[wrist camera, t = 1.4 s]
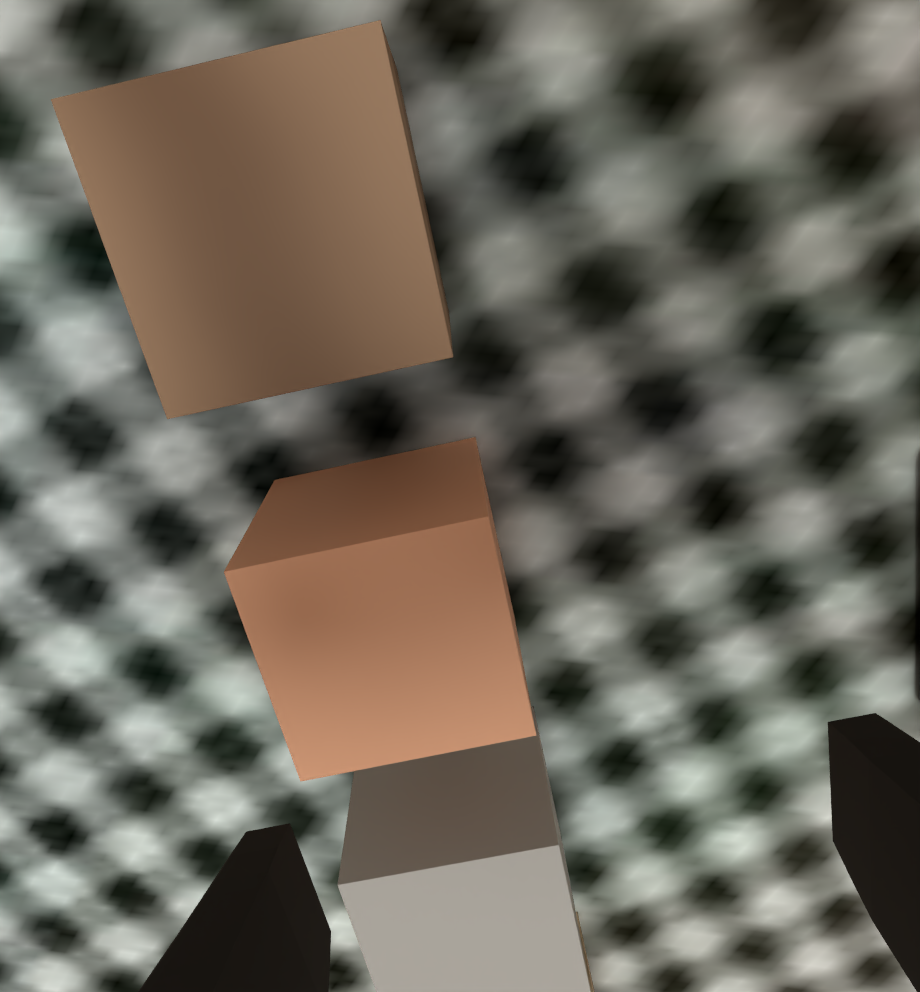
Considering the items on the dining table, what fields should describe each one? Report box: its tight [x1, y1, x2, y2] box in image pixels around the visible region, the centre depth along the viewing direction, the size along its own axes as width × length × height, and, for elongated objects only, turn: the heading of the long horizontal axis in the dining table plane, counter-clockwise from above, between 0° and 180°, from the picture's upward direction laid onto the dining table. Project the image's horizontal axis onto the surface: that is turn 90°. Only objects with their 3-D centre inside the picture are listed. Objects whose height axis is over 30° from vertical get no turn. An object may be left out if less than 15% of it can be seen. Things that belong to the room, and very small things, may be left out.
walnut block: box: [51, 20, 453, 419], centre depth 15 cm, size 5×5×5 cm
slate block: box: [338, 707, 591, 992], centre depth 20 cm, size 5×5×5 cm
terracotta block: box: [224, 437, 536, 781], centre depth 18 cm, size 5×5×5 cm
